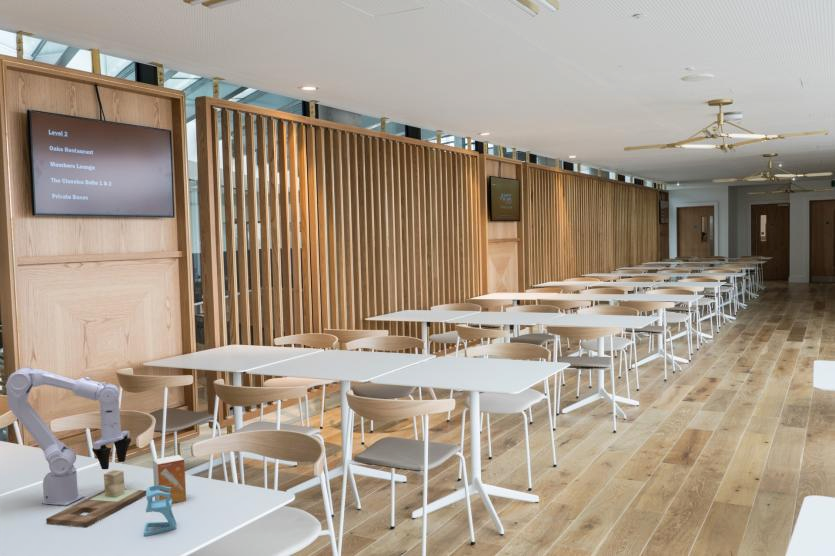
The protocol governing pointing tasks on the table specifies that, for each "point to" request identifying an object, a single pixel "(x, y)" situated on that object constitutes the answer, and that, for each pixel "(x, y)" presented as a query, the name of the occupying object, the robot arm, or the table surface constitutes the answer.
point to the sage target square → (113, 499)
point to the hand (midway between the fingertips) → (113, 465)
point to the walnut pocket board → (91, 510)
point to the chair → (159, 509)
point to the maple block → (114, 483)
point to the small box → (170, 477)
